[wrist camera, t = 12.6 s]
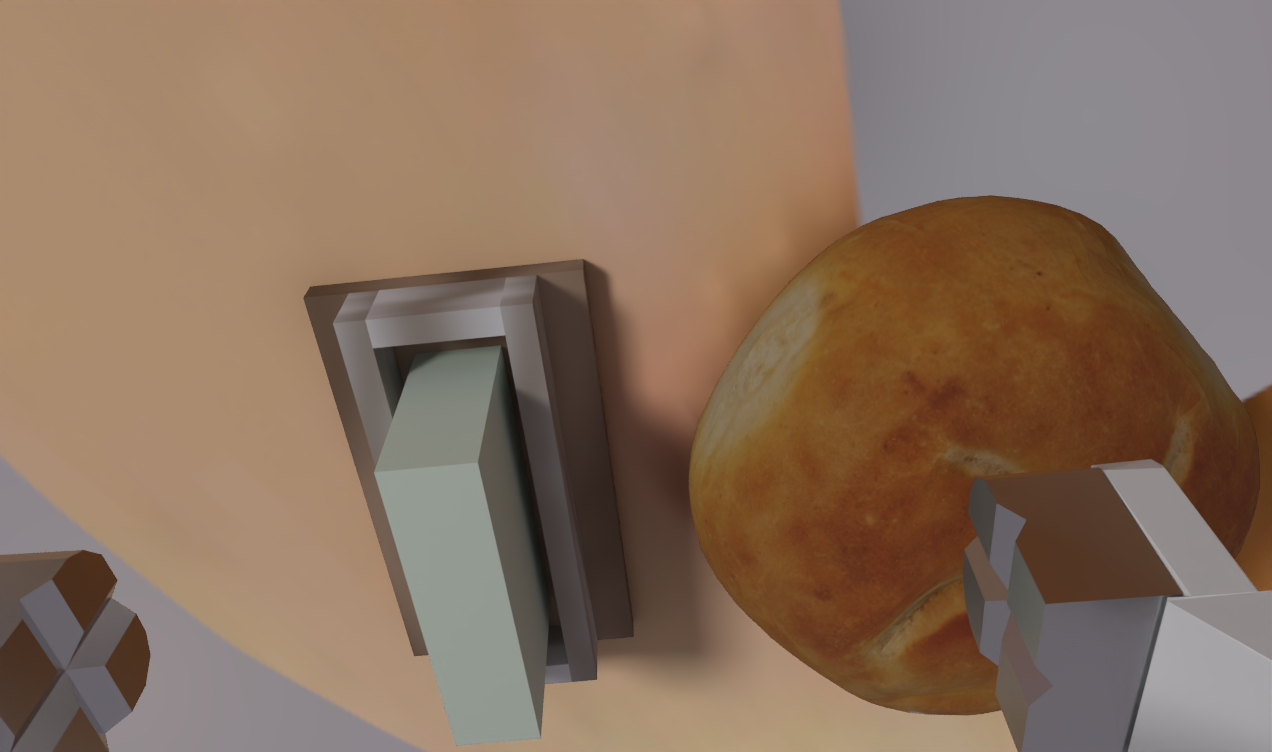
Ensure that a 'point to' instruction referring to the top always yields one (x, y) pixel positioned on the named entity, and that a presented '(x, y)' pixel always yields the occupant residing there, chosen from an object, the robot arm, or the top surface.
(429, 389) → the pale green rectangular block
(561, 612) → the grey rectangular tray
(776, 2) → the top surface
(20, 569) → the robot arm
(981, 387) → the bread
